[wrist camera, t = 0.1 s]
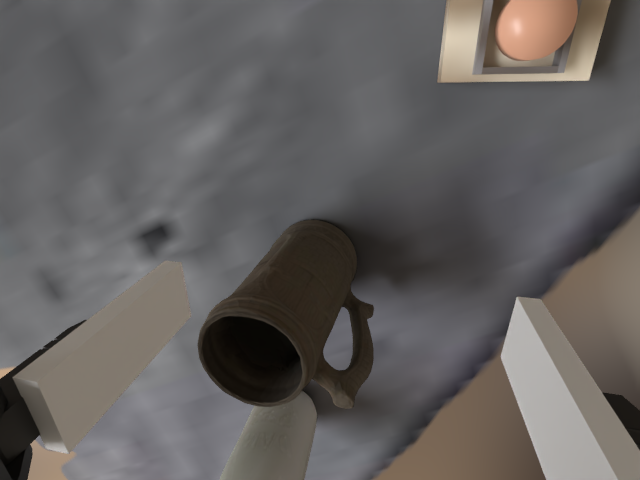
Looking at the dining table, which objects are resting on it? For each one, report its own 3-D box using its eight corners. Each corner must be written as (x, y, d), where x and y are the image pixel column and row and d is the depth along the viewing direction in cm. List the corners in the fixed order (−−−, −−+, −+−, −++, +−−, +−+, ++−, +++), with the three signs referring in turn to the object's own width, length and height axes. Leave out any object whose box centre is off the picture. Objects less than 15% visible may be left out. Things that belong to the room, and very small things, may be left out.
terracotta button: (501, -11, 27) (508, -18, 25) (574, -16, 26) (586, -23, 24) (489, 62, 29) (495, 60, 27) (556, 60, 28) (566, 58, 26)
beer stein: (262, 272, 48) (182, 385, 30) (284, 203, 43) (203, 288, 25) (367, 315, 47) (349, 457, 29) (401, 250, 43) (403, 371, 25)
